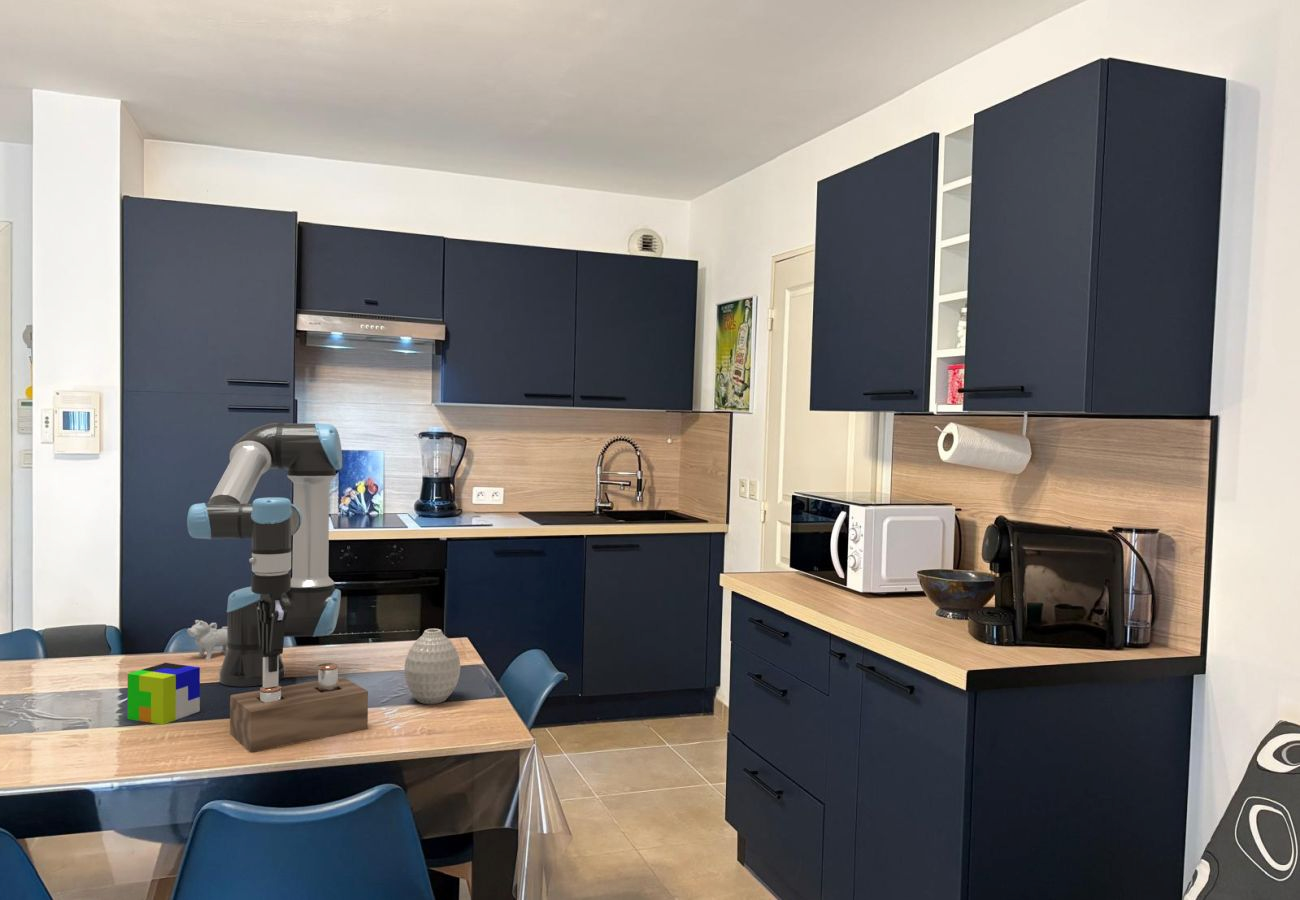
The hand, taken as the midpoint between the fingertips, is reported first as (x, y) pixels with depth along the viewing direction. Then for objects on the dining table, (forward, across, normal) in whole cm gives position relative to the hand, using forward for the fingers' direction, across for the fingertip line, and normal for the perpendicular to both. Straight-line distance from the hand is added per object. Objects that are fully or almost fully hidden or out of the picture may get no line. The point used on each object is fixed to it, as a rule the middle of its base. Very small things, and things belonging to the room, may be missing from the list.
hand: (270, 686), depth 191 cm
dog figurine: (+10, -75, +8) cm, 76 cm away
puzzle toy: (+11, -28, -14) cm, 33 cm away
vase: (+11, -3, +38) cm, 40 cm away
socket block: (+11, 0, +6) cm, 12 cm away
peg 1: (+8, 0, 0) cm, 8 cm away
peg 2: (+5, 0, +12) cm, 13 cm away
